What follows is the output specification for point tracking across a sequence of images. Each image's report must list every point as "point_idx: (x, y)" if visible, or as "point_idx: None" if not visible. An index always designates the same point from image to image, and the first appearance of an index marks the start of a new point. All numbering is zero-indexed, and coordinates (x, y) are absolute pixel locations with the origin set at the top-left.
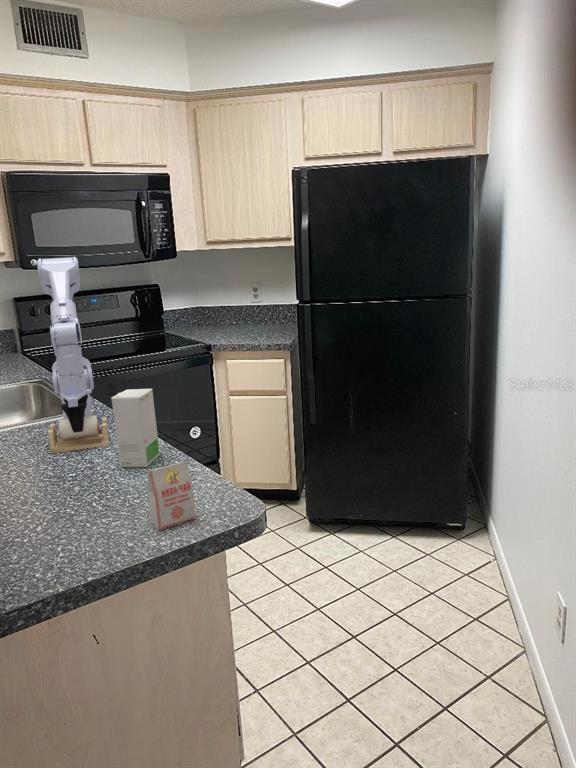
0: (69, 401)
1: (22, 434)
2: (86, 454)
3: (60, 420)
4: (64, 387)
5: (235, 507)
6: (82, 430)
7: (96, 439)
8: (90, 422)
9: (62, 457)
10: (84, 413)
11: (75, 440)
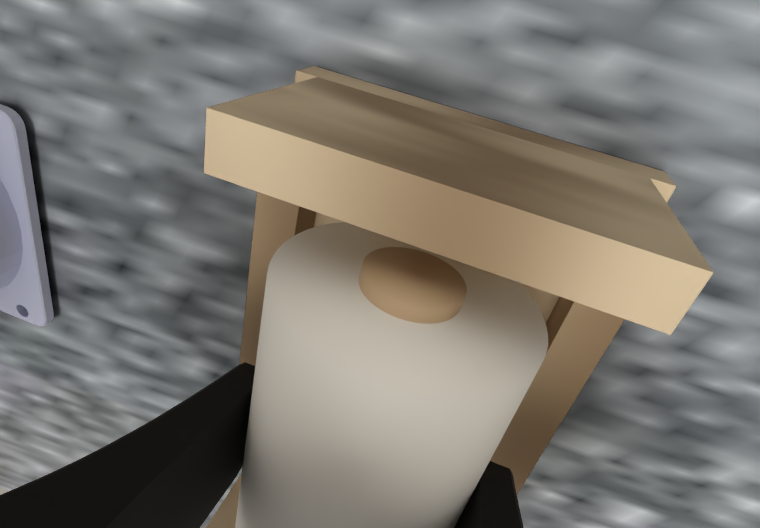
0: None
1: (44, 462)
2: (727, 406)
3: None
4: None
5: None
6: (513, 481)
7: (618, 318)
8: (479, 448)
9: (621, 522)
10: (166, 446)
11: (509, 464)
